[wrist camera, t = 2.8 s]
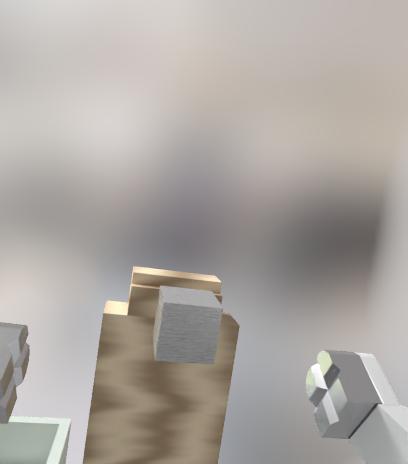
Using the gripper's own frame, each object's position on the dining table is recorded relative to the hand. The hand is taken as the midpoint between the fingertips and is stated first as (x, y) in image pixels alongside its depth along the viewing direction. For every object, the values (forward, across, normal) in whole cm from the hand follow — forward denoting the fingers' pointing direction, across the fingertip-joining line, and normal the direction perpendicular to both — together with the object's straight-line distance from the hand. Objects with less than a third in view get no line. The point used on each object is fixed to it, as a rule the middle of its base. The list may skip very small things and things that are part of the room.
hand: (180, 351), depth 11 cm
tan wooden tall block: (+5, +2, -40) cm, 40 cm away
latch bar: (+14, +3, -15) cm, 21 cm away
